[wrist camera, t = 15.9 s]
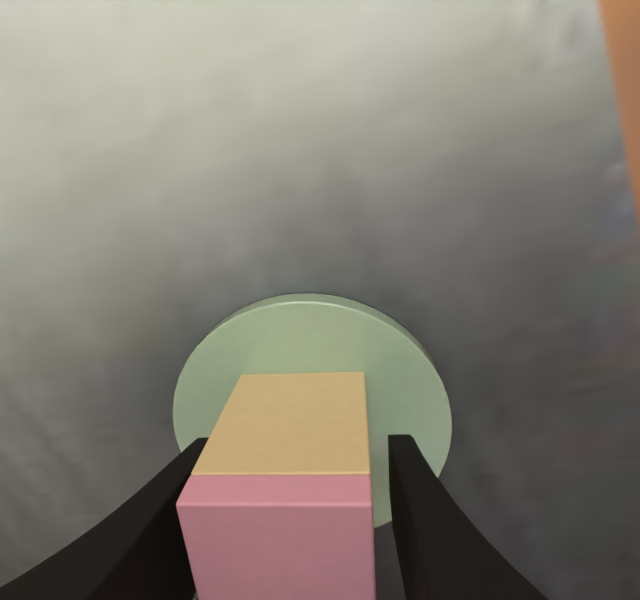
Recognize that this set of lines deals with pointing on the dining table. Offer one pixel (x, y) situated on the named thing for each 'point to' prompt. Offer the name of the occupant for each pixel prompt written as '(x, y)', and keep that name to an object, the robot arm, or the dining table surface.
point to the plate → (322, 356)
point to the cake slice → (284, 493)
